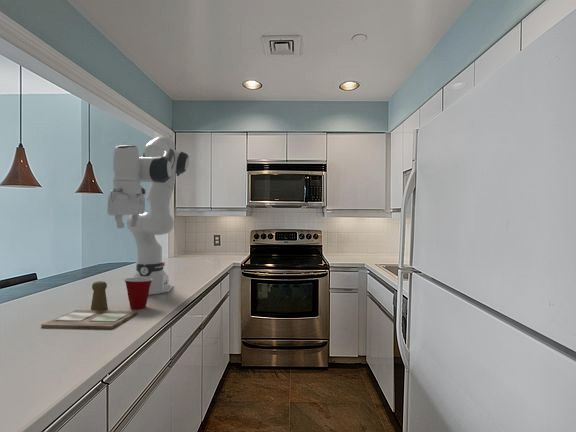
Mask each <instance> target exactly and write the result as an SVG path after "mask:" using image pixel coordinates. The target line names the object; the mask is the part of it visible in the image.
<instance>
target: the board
mask: <svg viewBox="0 0 576 432" xmlns="http://www.w3.org/2000/svg"><path fill="white" fill-rule="evenodd" d="M137 315H139V312H138V311H136V310H135V311H134V310H104V311H102V310H91V309H90V310H89V309H76V310H73V311H71V312H69V313H65V314H63V315H61V316H59V317H56V318H54V319H52V320H49V321H47V322H45V323H42V324H41V325H40V327H41V328H42V329H44V328H45V329H46V328H48V329H78V330H79V329H81V330H82V329H84V330H85V329H86V330H89V329H90V330H113V329H115V328H117V327H119V326H121V324H124V323H125V322H127V321H128V320H131V319H132V318H134V317H135V316H137Z"/></svg>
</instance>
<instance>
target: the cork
mask: <svg viewBox="0 0 576 432" xmlns="http://www.w3.org/2000/svg"><path fill="white" fill-rule="evenodd" d="M107 288H108V284H107V282H106V281H101V280H100V281H95V282H93V283H92V285H91V289H92V291H93V293H92V300H91V305H90V310H102V311H108V309H109V308H108V299H107V291H106V290H107Z"/></svg>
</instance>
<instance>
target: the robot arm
mask: <svg viewBox="0 0 576 432" xmlns="http://www.w3.org/2000/svg"><path fill="white" fill-rule="evenodd" d="M139 154H140V153H139V149H138V146H136V145H134V144H130V145H127V144H126V145H125V144H122V145H121V144H120V145H116V146H115V147H114V150H113V157H112V158H113V159H112V169H113V172H114V175H113V180H112V181H113V182H112V183H113V188H112V190H111V191H110V192H109V195H108V198H107V207H106V208H107V210H106V211H107V214H108V215H109V216H114V221H115V222H116V227H117V229H124V228H125V223H124V221H123V219H124V216H128V218H127V220H126V226H127V229H128V230H129V232H131V234H132V235H133V238H134V240H135V243H136V249H137V254H136V255H137V263H136V273H134V275H133V278H152V279H153V280H152V282H151V284H150V288H149V294H148V296H149V295H150V296H151V295H157V294H162V293H163V294H165V293H170V291H171V290H172V289H173V288H174V284H172V283H171V284H170V282H169V281H170V280H169V279H170V278H169V275H168V274H167V273H166V271H164V266H165V265H166V264H165V263H166V262H165V261H163V260H162V259H163V248H162V245H161V244H160V243H159V242H158V240H157V239H156V235H157V236H159V235H160V236H162V235H166V234H169V233H171V232H172V230H173V229H174V226H175V221H174V219H173V217H172V215H171V213H170V202H171V198H172V195H173V192H174V189H175V185H176V177H178V176H180V175H181V174H183V173H185V172H186V171H187V170H188V168H189V166H190V156H189V154H187V153H186V152H184V151H180V150H176V144H175V141H174V140H173V139H172V138H171V137H170V136H167V135H161V136H157V137H155V138H152V139H151V140H150V141H149V142H148V143H146V145H145V147H144V149H143V153H142V156H140V155H139ZM141 183H150V185H149V188H148V191H147V190H146V189H145V188H144V187H143V186H142V185H141ZM146 191H147V192H146ZM145 196H146V197H145ZM146 201H147V203H148V204H149V210H148V212H147V211H146Z"/></svg>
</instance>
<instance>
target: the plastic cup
mask: <svg viewBox="0 0 576 432" xmlns="http://www.w3.org/2000/svg"><path fill="white" fill-rule="evenodd" d="M123 280H124V283H125V285H126V291H127V299H128V302H129V308H130V309H131V310H142V309H145V308H146V307H147V303H148V299H149V295H148V294H149V288H150V284H151V282H152V280H153V279H152V278H134V277H127V278H124V279H123Z"/></svg>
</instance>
